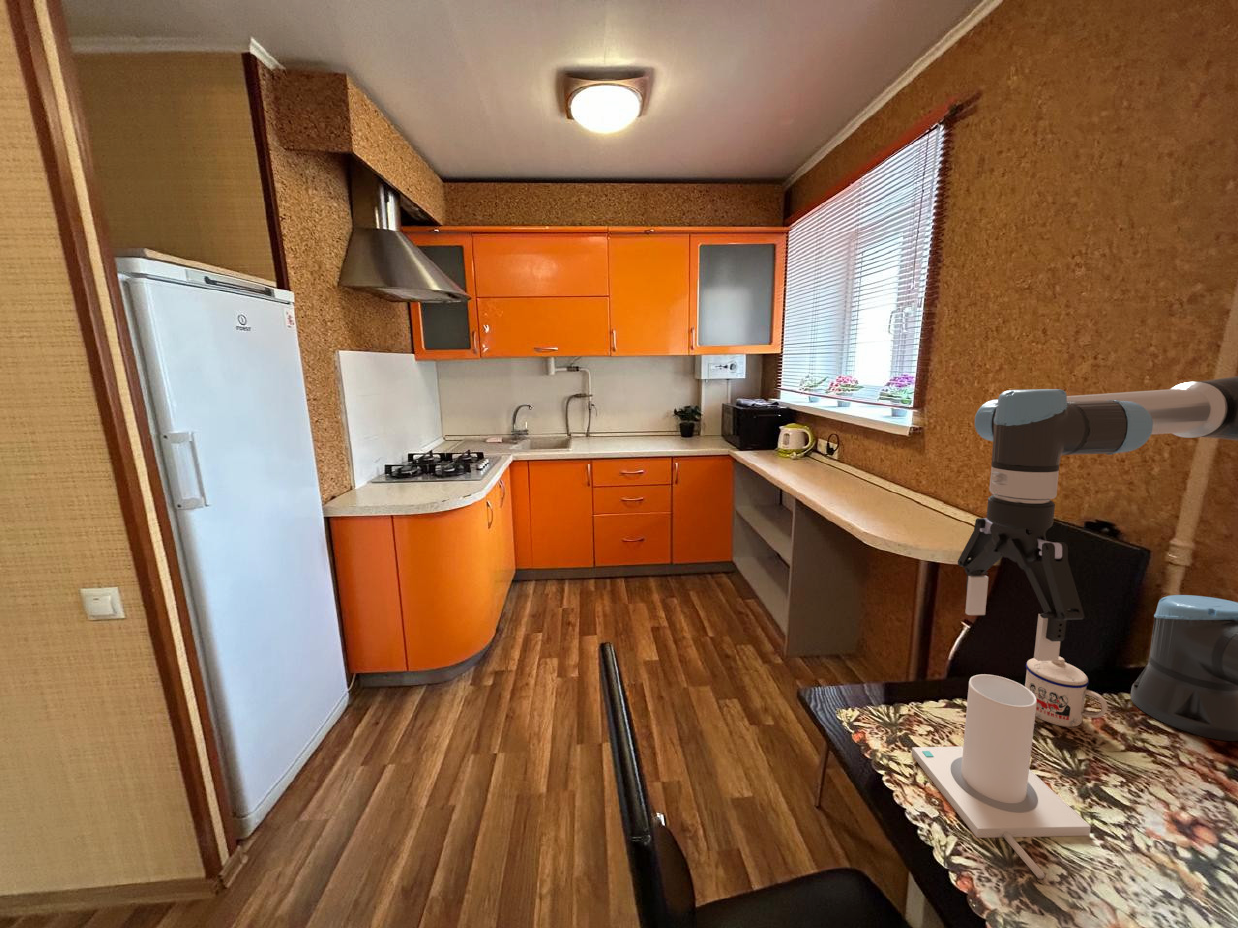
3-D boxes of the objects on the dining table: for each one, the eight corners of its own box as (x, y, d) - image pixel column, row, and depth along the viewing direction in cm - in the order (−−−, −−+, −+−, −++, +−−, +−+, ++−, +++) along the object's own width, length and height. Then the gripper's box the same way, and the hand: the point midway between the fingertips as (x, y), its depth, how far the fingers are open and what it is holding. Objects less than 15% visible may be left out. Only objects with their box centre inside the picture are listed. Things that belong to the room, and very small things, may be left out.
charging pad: (1003, 752, 86) (1004, 744, 86) (1132, 876, 64) (1134, 865, 64) (911, 754, 86) (912, 746, 86) (1009, 879, 64) (1010, 868, 64)
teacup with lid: (1013, 708, 97) (1019, 654, 95) (1031, 692, 102) (1037, 640, 100) (1095, 744, 87) (1103, 684, 85) (1111, 725, 92) (1119, 667, 90)
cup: (1038, 807, 73) (1050, 709, 70) (976, 799, 75) (985, 703, 72) (1007, 765, 81) (1016, 676, 78) (951, 759, 83) (959, 671, 80)
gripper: (939, 481, 83) (930, 599, 86) (1073, 521, 58) (1054, 684, 62) (983, 480, 83) (973, 598, 86) (1137, 519, 58) (1114, 683, 62)
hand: (1007, 634), depth 74 cm, fingers open, 13 cm apart
